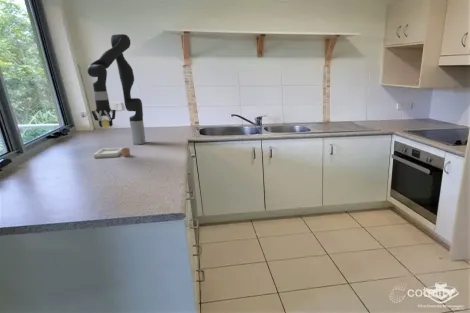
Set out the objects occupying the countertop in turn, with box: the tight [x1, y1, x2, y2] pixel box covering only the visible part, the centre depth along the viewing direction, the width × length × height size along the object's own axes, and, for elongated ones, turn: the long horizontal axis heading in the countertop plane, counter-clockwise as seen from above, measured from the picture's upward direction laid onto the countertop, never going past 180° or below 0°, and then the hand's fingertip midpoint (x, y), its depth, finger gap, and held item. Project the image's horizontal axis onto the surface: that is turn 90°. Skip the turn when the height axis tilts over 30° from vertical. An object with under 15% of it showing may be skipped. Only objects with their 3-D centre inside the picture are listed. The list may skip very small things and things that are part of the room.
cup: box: [121, 147, 131, 158], centre depth 173 cm, size 5×5×5 cm
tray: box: [93, 147, 124, 159], centre depth 178 cm, size 14×14×2 cm
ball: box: [101, 118, 110, 128], centre depth 172 cm, size 5×5×5 cm
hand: (106, 126), depth 173 cm, fingers closed on ball, 5 cm apart
